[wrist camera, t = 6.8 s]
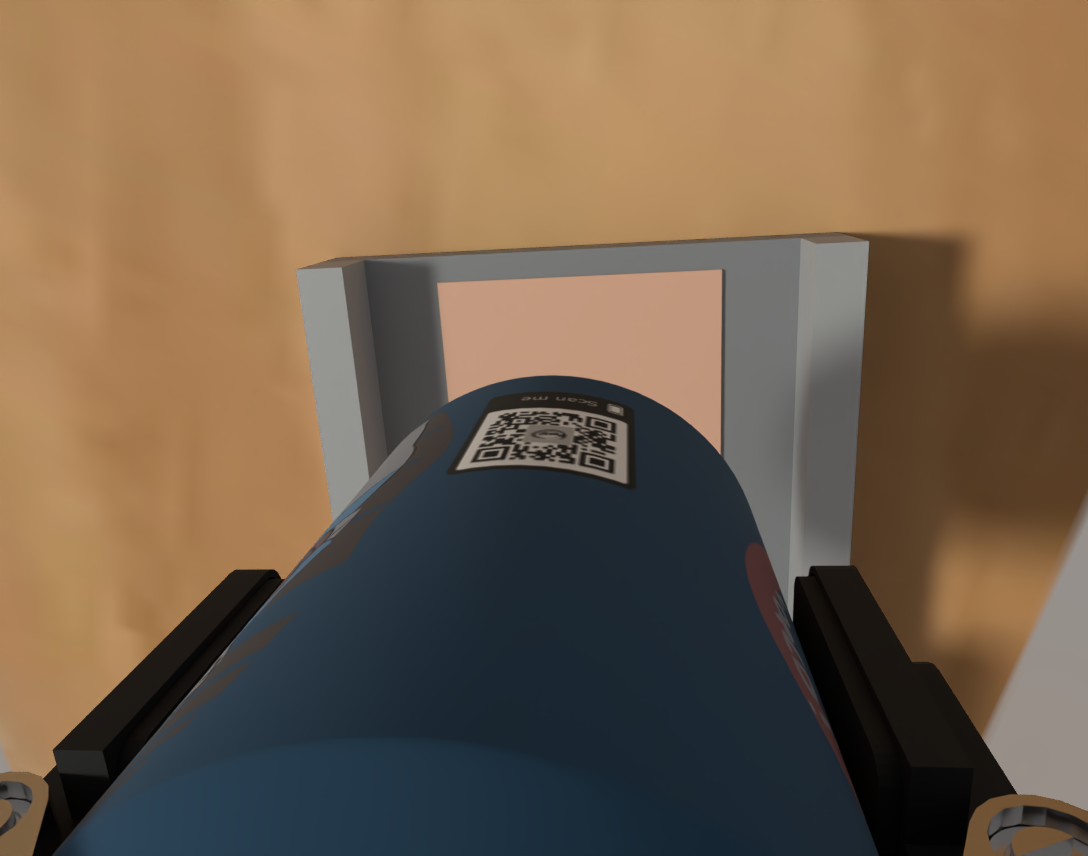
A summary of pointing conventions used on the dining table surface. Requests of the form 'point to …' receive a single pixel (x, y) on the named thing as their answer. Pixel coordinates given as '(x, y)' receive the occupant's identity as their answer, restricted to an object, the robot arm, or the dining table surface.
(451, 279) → the rail board
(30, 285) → the dining table surface
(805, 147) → the dining table surface
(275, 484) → the dining table surface
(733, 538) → the soda can
